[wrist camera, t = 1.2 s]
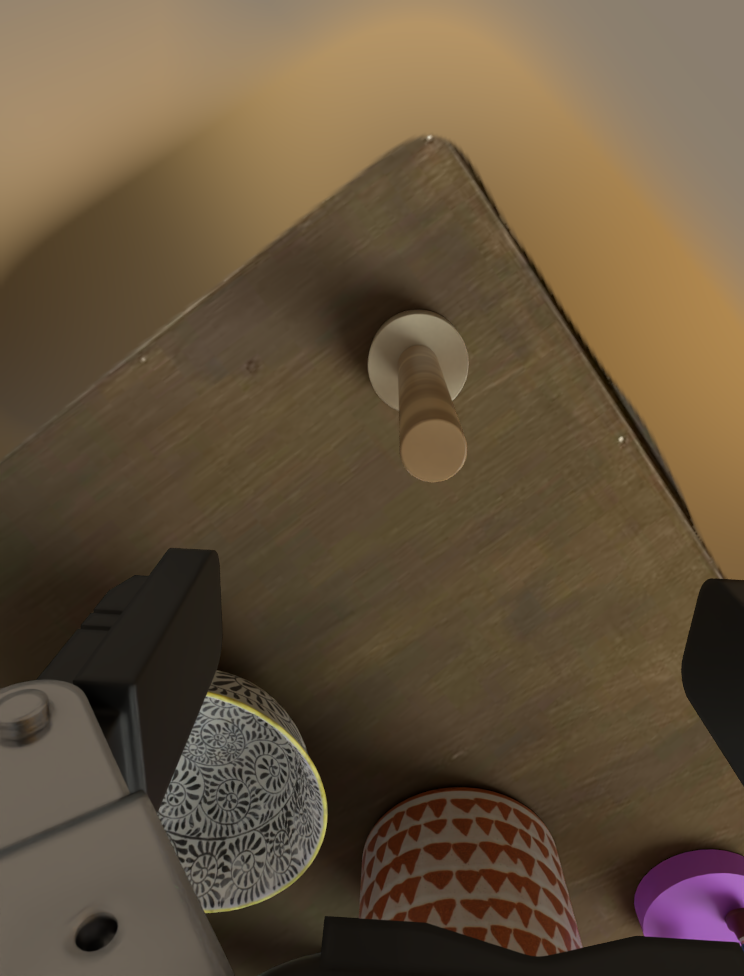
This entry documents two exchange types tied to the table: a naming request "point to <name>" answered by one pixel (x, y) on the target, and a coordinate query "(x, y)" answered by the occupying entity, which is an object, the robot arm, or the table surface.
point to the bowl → (243, 799)
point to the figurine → (694, 897)
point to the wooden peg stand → (422, 389)
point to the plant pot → (469, 871)
